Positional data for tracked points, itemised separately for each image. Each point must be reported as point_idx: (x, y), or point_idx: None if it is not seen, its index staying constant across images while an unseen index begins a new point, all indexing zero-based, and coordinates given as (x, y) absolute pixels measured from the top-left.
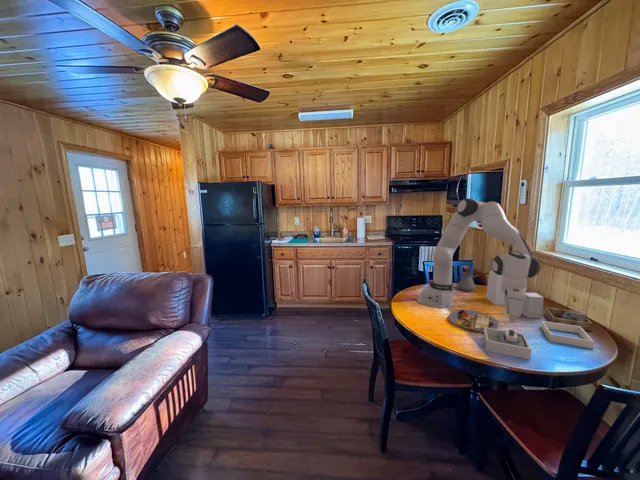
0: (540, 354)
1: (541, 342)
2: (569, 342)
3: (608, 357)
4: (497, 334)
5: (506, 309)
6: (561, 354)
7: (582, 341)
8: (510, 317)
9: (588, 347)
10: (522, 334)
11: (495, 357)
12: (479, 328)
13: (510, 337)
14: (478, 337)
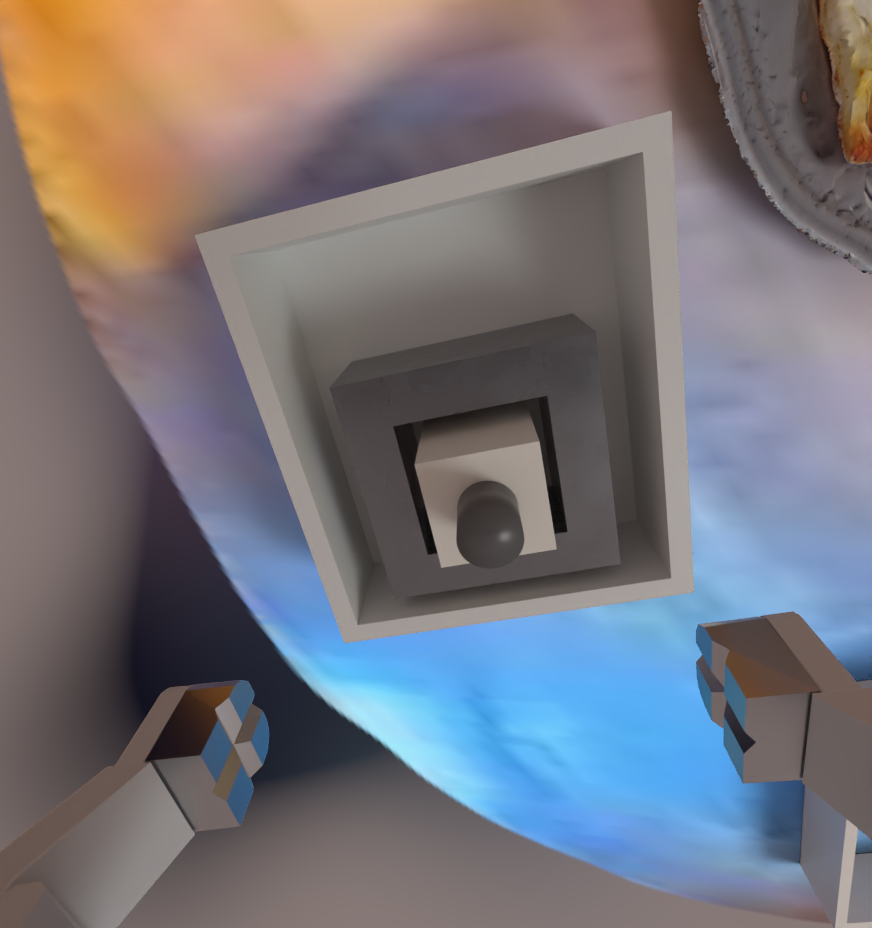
0: (513, 629)
1: None
2: (815, 795)
3: (706, 897)
4: (634, 315)
5: (843, 672)
6: (601, 730)
7: (829, 872)
8: (51, 817)
9: (802, 852)
10: (662, 579)
11: (196, 337)
12: (833, 34)
13: (426, 496)
14: (552, 82)
